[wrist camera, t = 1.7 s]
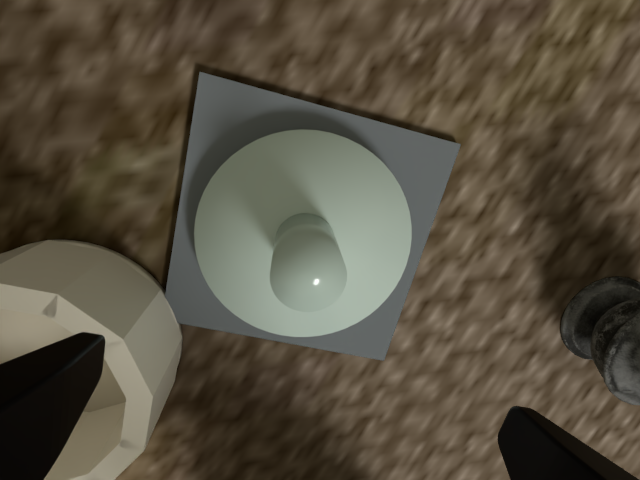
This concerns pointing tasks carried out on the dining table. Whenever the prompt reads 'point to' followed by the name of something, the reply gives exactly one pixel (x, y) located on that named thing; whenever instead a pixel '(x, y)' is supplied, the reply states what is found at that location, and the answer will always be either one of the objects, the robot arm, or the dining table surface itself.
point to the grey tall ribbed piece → (608, 333)
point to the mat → (290, 114)
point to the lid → (302, 233)
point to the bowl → (99, 318)
